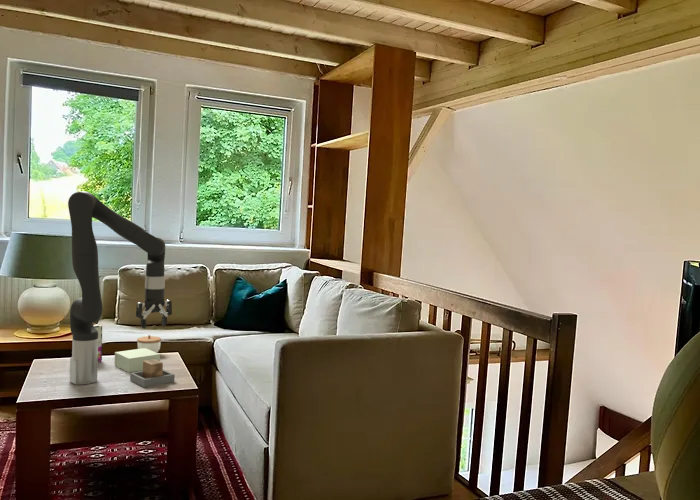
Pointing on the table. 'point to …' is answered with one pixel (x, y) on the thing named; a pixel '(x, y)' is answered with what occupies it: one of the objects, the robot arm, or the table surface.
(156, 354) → the block
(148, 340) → the lidded jar
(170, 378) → the charcoal bin
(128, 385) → the table surface
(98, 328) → the candy bar box
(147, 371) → the walnut parts box
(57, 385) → the table surface
